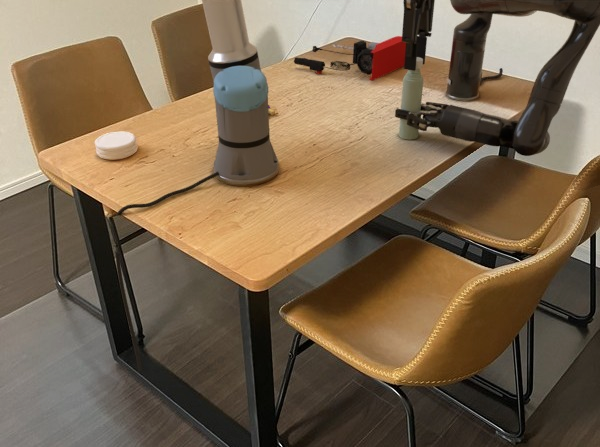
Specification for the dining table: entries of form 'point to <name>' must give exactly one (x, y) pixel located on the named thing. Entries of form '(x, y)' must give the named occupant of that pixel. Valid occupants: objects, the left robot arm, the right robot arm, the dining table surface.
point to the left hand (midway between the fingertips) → (414, 66)
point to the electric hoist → (366, 57)
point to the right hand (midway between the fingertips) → (401, 109)
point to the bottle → (411, 101)
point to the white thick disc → (116, 145)
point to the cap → (419, 63)
